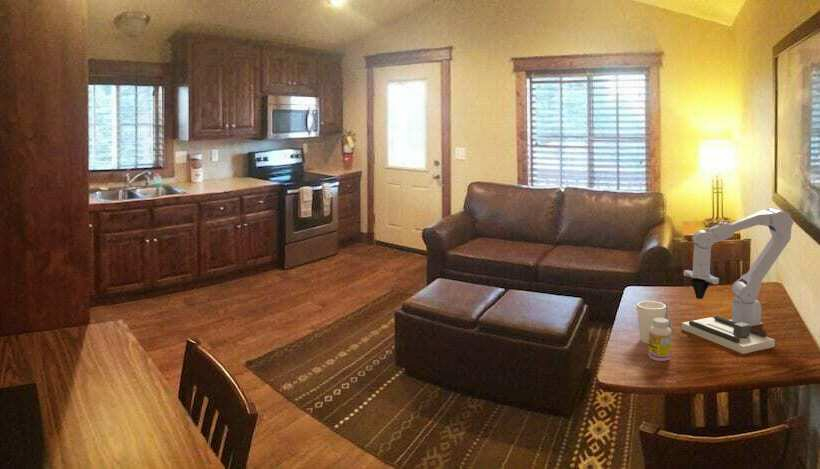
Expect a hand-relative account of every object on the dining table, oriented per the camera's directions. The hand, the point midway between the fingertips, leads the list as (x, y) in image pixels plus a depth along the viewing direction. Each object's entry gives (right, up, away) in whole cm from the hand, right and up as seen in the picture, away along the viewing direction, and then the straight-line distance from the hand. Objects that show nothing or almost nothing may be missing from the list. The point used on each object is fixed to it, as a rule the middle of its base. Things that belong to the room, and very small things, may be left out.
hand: (699, 298), depth 222 cm
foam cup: (-24, -13, -14) cm, 31 cm away
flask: (-16, -11, -4) cm, 20 cm away
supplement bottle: (-27, -16, -29) cm, 43 cm away
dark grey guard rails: (+2, -10, -15) cm, 18 cm away
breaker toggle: (+4, -10, -21) cm, 23 cm away
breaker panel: (+2, -12, -14) cm, 19 cm away
